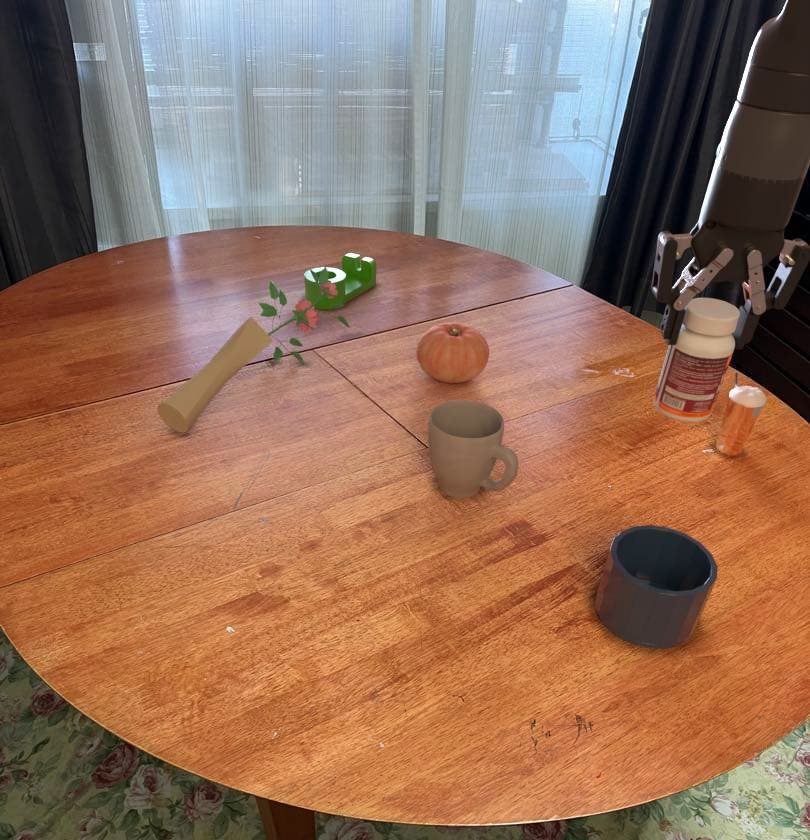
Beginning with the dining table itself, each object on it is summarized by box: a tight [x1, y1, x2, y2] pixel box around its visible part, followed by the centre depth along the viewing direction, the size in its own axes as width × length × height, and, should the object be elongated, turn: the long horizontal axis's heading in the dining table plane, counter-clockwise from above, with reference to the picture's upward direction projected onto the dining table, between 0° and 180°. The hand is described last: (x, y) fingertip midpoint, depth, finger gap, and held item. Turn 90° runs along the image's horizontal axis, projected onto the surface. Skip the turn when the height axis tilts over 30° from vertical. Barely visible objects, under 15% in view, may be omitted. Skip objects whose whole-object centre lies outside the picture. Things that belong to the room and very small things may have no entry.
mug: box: [427, 399, 519, 499], centre depth 91 cm, size 12×9×10 cm
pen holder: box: [594, 524, 719, 650], centre depth 77 cm, size 10×10×8 cm
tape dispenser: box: [304, 252, 377, 310], centre depth 136 cm, size 15×7×5 cm, turn 149°
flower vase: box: [156, 266, 351, 434], centre depth 110 cm, size 12×12×35 cm
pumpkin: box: [416, 322, 490, 384], centre depth 113 cm, size 11×11×8 cm
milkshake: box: [715, 372, 767, 456], centre depth 101 cm, size 4×5×10 cm
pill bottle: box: [653, 297, 740, 423], centre depth 78 cm, size 6×6×11 cm
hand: (702, 343), depth 76 cm, fingers closed on pill bottle, 6 cm apart
